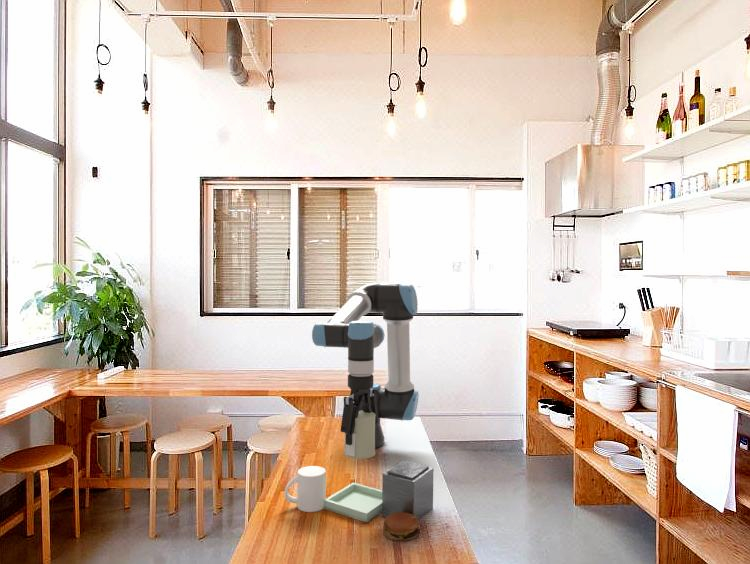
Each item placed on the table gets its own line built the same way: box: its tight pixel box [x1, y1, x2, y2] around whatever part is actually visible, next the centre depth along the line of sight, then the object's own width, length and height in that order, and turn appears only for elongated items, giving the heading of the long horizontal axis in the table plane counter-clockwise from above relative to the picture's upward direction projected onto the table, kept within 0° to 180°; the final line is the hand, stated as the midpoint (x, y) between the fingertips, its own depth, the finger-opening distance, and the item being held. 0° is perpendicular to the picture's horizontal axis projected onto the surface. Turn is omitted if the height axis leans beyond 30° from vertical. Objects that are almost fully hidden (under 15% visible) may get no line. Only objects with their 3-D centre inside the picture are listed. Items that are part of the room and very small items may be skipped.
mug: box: [283, 465, 327, 513], centre depth 151 cm, size 8×10×12 cm
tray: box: [323, 482, 382, 523], centre depth 152 cm, size 15×15×2 cm
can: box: [343, 410, 376, 460], centre depth 152 cm, size 9×9×12 cm
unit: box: [381, 460, 434, 522], centre depth 148 cm, size 12×10×13 cm
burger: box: [382, 512, 421, 541], centre depth 136 cm, size 10×9×5 cm
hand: (359, 450), depth 152 cm, fingers closed on can, 9 cm apart
